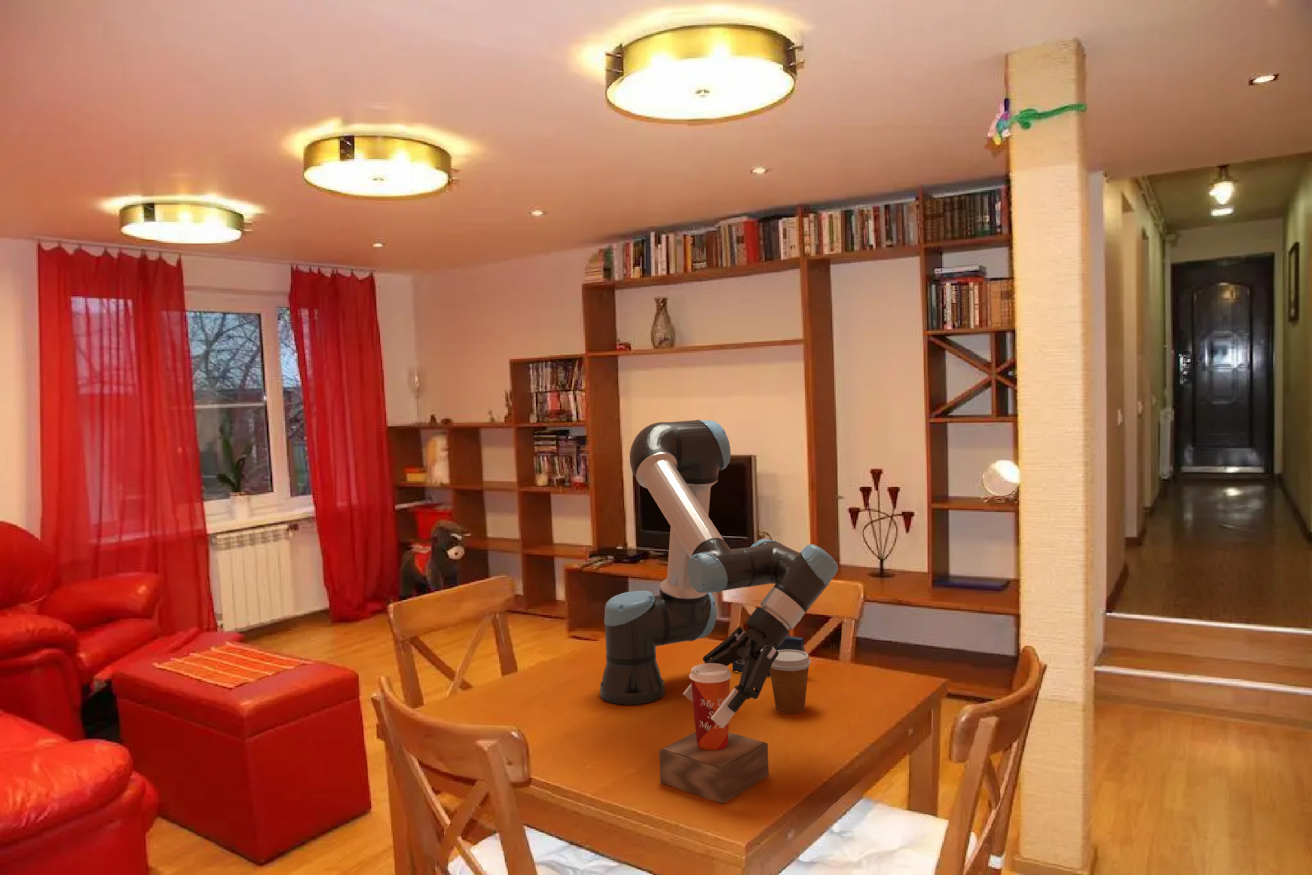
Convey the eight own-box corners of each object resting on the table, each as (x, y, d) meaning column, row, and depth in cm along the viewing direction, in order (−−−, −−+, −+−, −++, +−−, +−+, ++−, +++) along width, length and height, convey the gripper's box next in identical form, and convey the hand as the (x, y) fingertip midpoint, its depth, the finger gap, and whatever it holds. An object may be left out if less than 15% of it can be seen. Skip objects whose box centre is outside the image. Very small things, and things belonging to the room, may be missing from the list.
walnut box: (660, 782, 161) (659, 748, 161) (707, 756, 171) (706, 725, 171) (722, 804, 152) (721, 768, 151) (768, 775, 162) (767, 741, 162)
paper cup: (704, 756, 157) (702, 678, 156) (683, 741, 163) (681, 666, 163) (742, 746, 160) (740, 670, 159) (720, 732, 167) (717, 659, 166)
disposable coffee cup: (811, 717, 190) (809, 662, 189) (766, 715, 192) (765, 661, 191) (812, 702, 199) (811, 649, 199) (769, 700, 201) (768, 648, 200)
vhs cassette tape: (731, 672, 223) (730, 632, 222) (736, 668, 225) (735, 629, 225) (801, 681, 214) (800, 640, 213) (806, 677, 216) (804, 637, 216)
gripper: (821, 648, 153) (744, 747, 149) (758, 615, 177) (691, 700, 173) (793, 621, 151) (714, 721, 147) (733, 592, 175) (664, 677, 171)
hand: (701, 710), depth 160 cm, fingers open, 13 cm apart
